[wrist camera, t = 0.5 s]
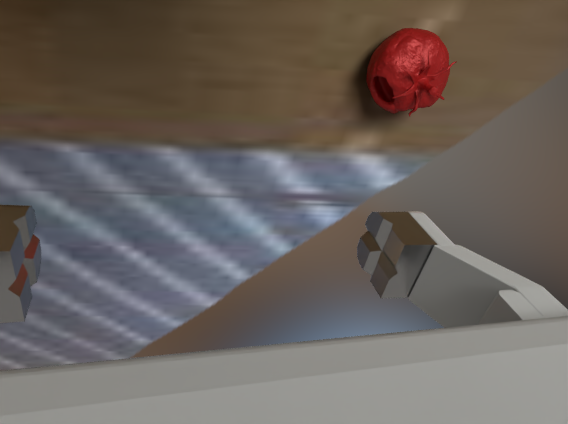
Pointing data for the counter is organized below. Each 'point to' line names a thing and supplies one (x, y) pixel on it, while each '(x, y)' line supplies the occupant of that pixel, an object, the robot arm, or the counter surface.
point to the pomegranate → (408, 70)
